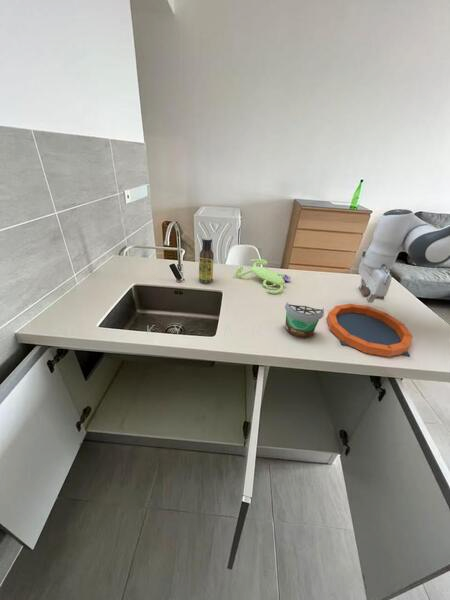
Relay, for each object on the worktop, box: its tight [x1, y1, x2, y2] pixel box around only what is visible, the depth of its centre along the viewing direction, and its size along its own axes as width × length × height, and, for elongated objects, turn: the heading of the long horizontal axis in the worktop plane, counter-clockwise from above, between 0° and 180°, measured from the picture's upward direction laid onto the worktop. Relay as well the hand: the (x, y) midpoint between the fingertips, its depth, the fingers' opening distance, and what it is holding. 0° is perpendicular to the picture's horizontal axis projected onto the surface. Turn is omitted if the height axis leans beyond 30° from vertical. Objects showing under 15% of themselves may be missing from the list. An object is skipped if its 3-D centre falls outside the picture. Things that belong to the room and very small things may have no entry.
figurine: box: [234, 258, 291, 295], centre depth 113 cm, size 18×27×6 cm
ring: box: [326, 303, 414, 358], centre depth 83 cm, size 25×25×3 cm
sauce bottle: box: [198, 236, 215, 284], centre depth 105 cm, size 6×6×20 cm
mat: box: [336, 312, 411, 357], centre depth 84 cm, size 20×20×1 cm
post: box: [358, 285, 385, 300], centre depth 105 cm, size 8×8×10 cm
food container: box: [284, 301, 325, 339], centre depth 78 cm, size 12×6×10 cm, turn 76°
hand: (365, 295), depth 89 cm, fingers open, 8 cm apart
